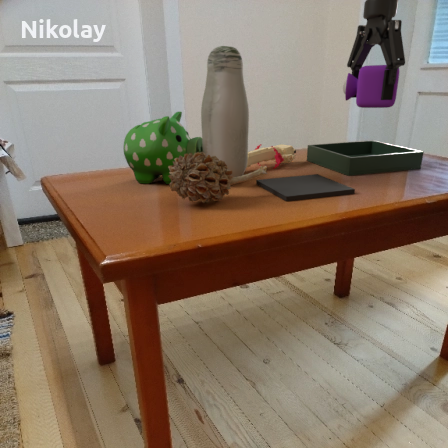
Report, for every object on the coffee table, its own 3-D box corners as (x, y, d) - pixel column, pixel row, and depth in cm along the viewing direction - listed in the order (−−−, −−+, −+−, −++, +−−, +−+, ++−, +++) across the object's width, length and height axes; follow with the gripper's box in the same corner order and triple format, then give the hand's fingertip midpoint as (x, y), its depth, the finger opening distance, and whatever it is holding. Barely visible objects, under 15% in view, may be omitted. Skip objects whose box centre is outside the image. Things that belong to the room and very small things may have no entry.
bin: (420, 168, 114) (423, 151, 112) (348, 175, 108) (350, 157, 106) (370, 155, 132) (372, 140, 130) (306, 160, 126) (307, 145, 124)
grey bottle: (233, 189, 97) (232, 44, 84) (196, 184, 102) (189, 46, 89) (255, 180, 105) (257, 45, 92) (219, 176, 110) (216, 47, 97)
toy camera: (339, 105, 119) (343, 64, 114) (392, 104, 117) (398, 62, 112) (343, 109, 110) (347, 63, 105) (400, 108, 108) (407, 61, 103)
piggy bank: (194, 188, 99) (191, 116, 92) (118, 186, 102) (109, 117, 95) (207, 174, 112) (204, 110, 105) (138, 173, 114) (132, 111, 107)
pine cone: (181, 214, 82) (178, 159, 77) (161, 202, 89) (157, 151, 84) (277, 197, 91) (279, 147, 87) (252, 188, 99) (253, 141, 94)
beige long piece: (239, 183, 108) (306, 161, 121) (237, 146, 103) (306, 127, 116) (213, 177, 114) (279, 156, 128) (210, 142, 110) (279, 124, 123)
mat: (354, 193, 93) (355, 189, 92) (286, 201, 88) (286, 196, 88) (317, 178, 106) (317, 173, 106) (255, 184, 102) (256, 179, 101)
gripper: (338, 5, 112) (331, 97, 121) (403, -12, 91) (388, 101, 100) (364, 5, 114) (354, 96, 123) (433, -11, 93) (415, 100, 103)
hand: (369, 98), depth 112 cm, fingers closed on toy camera, 13 cm apart
